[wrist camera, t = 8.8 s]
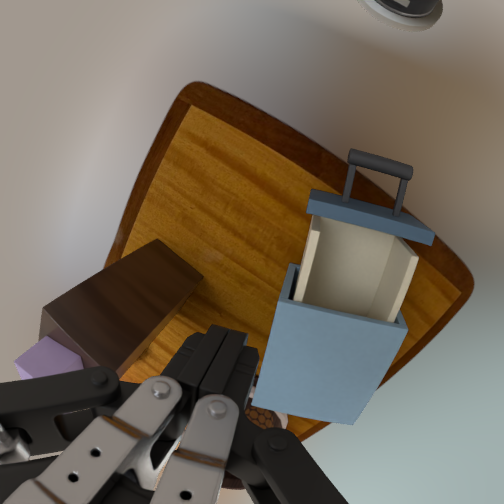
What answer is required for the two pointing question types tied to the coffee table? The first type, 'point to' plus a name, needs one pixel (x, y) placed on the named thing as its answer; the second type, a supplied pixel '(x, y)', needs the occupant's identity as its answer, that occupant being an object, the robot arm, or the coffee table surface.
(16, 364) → the purple cube
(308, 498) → the robot arm
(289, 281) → the cabinet
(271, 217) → the coffee table surface
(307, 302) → the drawer
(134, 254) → the stand
